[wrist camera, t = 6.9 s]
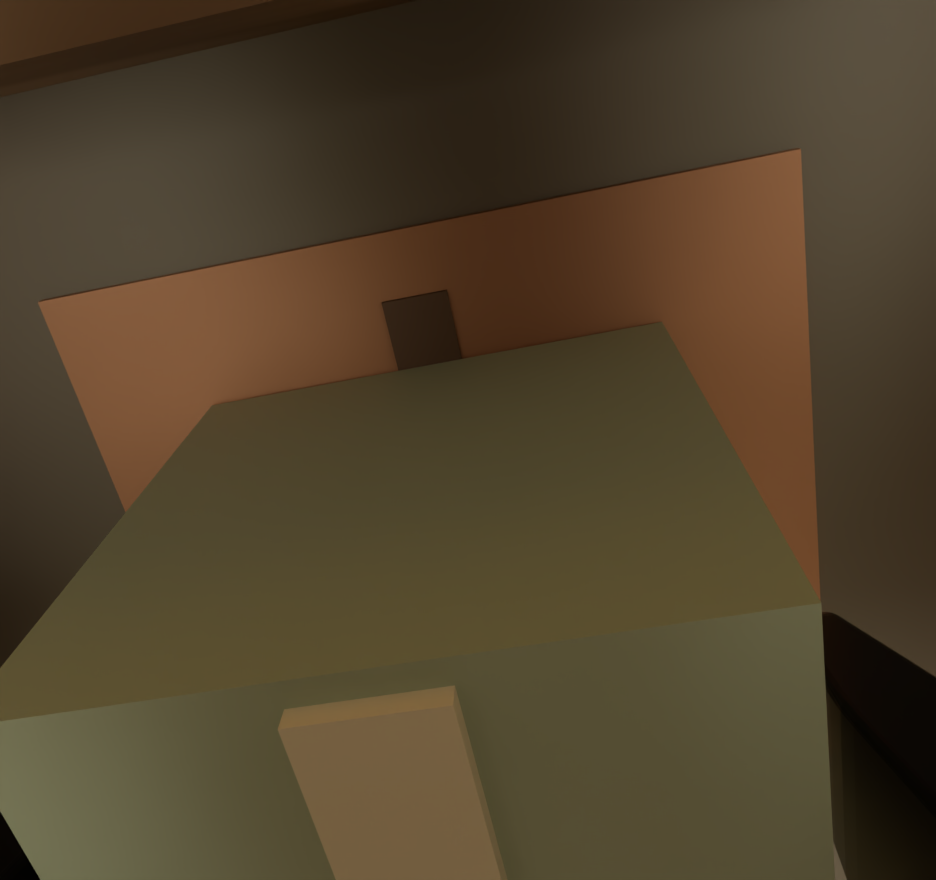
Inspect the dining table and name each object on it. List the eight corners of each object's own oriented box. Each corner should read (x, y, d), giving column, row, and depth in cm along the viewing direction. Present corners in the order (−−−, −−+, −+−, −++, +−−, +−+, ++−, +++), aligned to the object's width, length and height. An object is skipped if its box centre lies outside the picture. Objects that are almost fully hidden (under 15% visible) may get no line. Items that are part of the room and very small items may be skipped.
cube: (706, 692, 11) (855, 1169, 6) (331, 741, 12) (216, 1212, 7) (663, 321, 9) (832, 620, 4) (211, 405, 10) (-66, 748, 5)
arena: (1136, -331, 7) (1639, -628, 4) (1025, 908, 13) (1189, 1182, 10) (-436, 67, 9) (-957, 81, 6) (105, 997, 15) (-2, 1253, 12)
